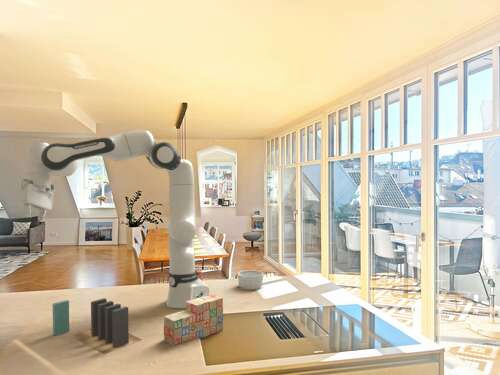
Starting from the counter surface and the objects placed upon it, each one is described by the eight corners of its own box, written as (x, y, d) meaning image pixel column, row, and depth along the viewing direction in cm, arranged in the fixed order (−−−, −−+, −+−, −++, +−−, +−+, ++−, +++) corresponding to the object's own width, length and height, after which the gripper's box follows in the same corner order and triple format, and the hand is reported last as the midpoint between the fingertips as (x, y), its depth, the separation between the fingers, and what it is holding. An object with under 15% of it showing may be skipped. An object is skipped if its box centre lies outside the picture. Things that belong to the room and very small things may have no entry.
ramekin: (254, 292, 189) (254, 278, 189) (232, 287, 196) (232, 274, 196) (268, 285, 200) (268, 272, 200) (246, 281, 207) (246, 268, 207)
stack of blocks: (174, 348, 128) (173, 312, 128) (163, 343, 133) (163, 307, 132) (223, 330, 143) (223, 297, 143) (212, 325, 148) (212, 293, 147)
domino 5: (126, 341, 131) (125, 306, 131) (128, 342, 130) (128, 307, 130) (112, 346, 127) (112, 310, 127) (115, 348, 126) (114, 311, 126)
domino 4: (118, 338, 134) (118, 303, 133) (121, 339, 133) (120, 304, 132) (105, 342, 130) (104, 307, 130) (107, 344, 129) (107, 308, 129)
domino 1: (67, 332, 141) (66, 300, 140) (69, 333, 140) (68, 300, 139) (53, 337, 137) (52, 303, 136) (55, 338, 136) (54, 304, 135)
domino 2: (104, 331, 140) (104, 298, 139) (107, 332, 139) (106, 299, 138) (91, 335, 136) (90, 301, 135) (93, 336, 135) (93, 302, 134)
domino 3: (111, 334, 137) (111, 300, 136) (113, 335, 136) (113, 301, 135) (98, 339, 133) (97, 304, 132) (100, 340, 132) (100, 305, 131)
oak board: (107, 326, 147) (107, 323, 147) (142, 342, 133) (142, 339, 133) (70, 338, 136) (70, 335, 136) (104, 357, 122) (104, 354, 122)
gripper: (31, 176, 141) (29, 214, 138) (56, 188, 161) (55, 221, 158) (13, 177, 140) (10, 215, 138) (41, 189, 160) (39, 222, 157)
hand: (34, 218), depth 148 cm, fingers open, 8 cm apart
